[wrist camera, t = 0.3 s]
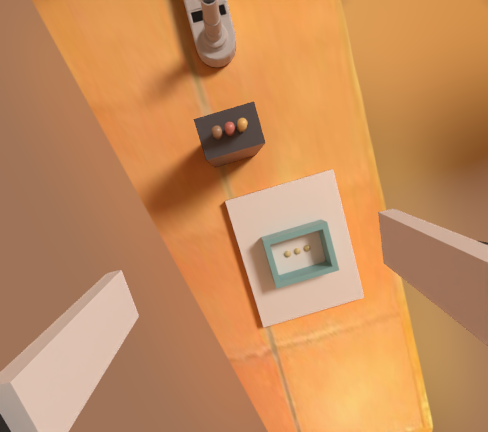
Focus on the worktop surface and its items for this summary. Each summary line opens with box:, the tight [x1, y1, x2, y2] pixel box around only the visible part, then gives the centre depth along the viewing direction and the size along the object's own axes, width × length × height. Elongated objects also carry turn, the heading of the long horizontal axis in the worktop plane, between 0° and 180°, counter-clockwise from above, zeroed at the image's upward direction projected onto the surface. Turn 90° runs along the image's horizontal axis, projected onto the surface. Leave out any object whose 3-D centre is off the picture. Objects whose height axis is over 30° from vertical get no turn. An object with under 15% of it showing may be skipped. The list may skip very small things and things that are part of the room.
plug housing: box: [194, 102, 265, 167], centre depth 30 cm, size 4×6×14 cm, turn 106°
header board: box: [225, 169, 364, 328], centre depth 38 cm, size 20×16×4 cm
